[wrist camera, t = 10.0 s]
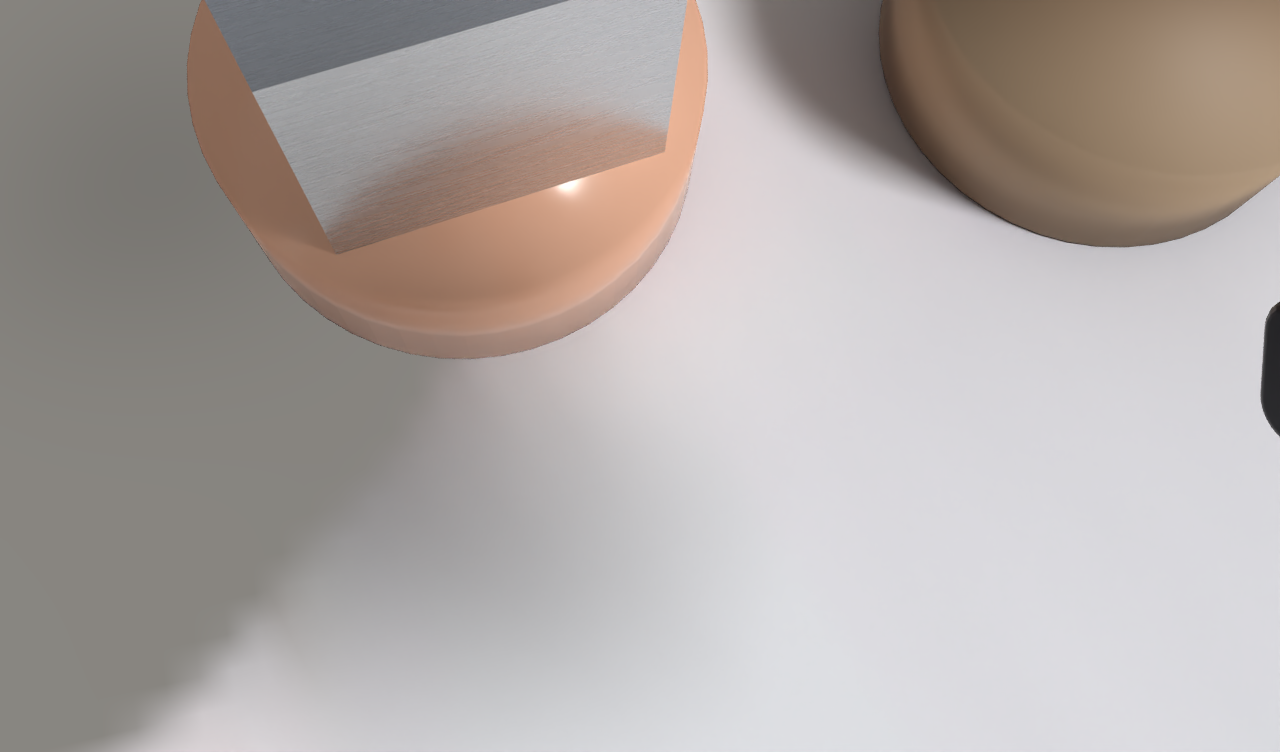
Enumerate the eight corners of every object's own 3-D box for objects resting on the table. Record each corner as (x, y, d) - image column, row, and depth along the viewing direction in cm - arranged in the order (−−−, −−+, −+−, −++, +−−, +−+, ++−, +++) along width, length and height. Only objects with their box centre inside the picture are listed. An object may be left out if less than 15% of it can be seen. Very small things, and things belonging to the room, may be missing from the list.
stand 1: (641, 403, 17) (651, 350, 15) (178, 304, 17) (113, 236, 15) (727, 2, 19) (749, -101, 17) (313, -84, 19) (274, -200, 17)
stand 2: (1289, 288, 18) (1395, 221, 16) (849, 196, 18) (890, 116, 16) (1304, -80, 20) (1402, -188, 18) (909, -162, 20) (953, -280, 18)
